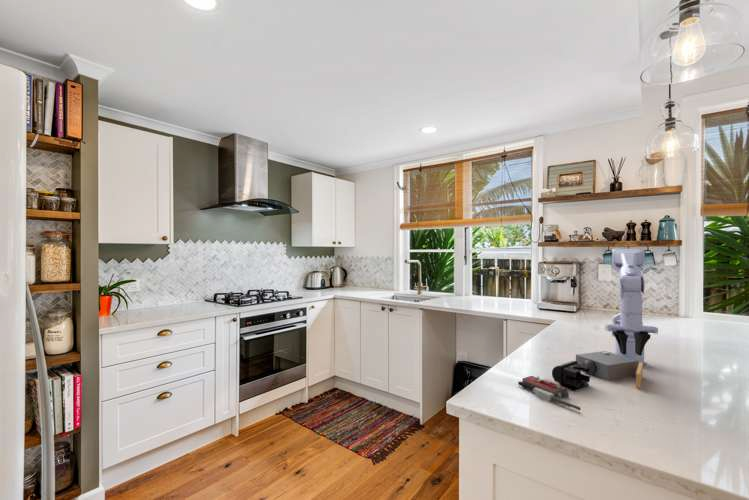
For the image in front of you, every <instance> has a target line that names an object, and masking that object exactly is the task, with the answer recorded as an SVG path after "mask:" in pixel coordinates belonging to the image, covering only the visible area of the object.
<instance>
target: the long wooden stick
mask: <svg viewBox="0 0 749 500" xmlns="http://www.w3.org/2000/svg"><path fill="white" fill-rule="evenodd" d="M643 366H644V364H643V363H640V362H639V365H638V368H637V372H636V376H635V388H637V389H641V385H642V381H643V375H644V373H643V371H644V367H643Z"/></svg>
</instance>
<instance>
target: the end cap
mask: <svg viewBox="0 0 749 500" xmlns="http://www.w3.org/2000/svg"><path fill="white" fill-rule="evenodd" d="M581 371H582V372H584V371H586V372H590V367H587V366H584V365H580V364H578V362H577V361H576V360H571V361H568V362H564V363H561V364H558V365H556V366H554V367H553V368H552V371H551V375H552V378H553V379H552V380H553V381H556V382H559V383H560V385H561V386H562V387H565V388H567V389H568V390H569V391H572V392H578V391H580V390H582V389H584V388H587V387H590V384H589V383H590V379H591V377H590V375H587V374H584V373H582V372H581ZM586 372H585V373H586Z"/></svg>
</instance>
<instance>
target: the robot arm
mask: <svg viewBox="0 0 749 500" xmlns="http://www.w3.org/2000/svg"><path fill="white" fill-rule="evenodd" d="M645 254H646V253H645V249H644V248H616V247H614V248H613V249H612V267H613V270H616V271H618V272H619V276H620V277H619V279H618V281H619V282H618V290H619V297H620V301H619V303H620V307H619V308H620V311H619V313H616V314H615V315H613V317H612V318H611V323H610V324H607V323H606V324H604V330H605V331H606V332H611V336H612V337H614V339H615V343H614V344H615V345H614V347H615V348H614V349H615V350H614V354H617V355H621V356H624V357H628V358H631V359H634V360H638V361H639V362H640V363H643V365H646V364H648V362H646V361H645V346H646V344H647V343H648V341H649V340H650V339H651V334H655V335H656V334H657V335H658V334H659V328H658V327H657V326H653V325H652V326H650V325H644V324H643V295H644V293H645V289H646V287H645V286H646V285H645V284H646V283H645V277H644V276H643V275H642V272H641V271H642V270H643V268H644V264H645V261H646V260H645V259H646V256H645Z"/></svg>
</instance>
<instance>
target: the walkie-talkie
mask: <svg viewBox="0 0 749 500" xmlns="http://www.w3.org/2000/svg"><path fill="white" fill-rule="evenodd" d="M517 382H518V383H517V385H518V386H521V387H522V389H524V390H527V391H530V392H532V393H534V395H535V396H536V397H538V398H539V399H542V400H544V401H546V402H549V403H551V402H554V403H558V404H561V405H563V406H565V407H568V408H574V409H576V410H579V411H581V407H580V406H578V405H575V404H573V403H570V402H568V401H565V400H562V399H567V398H568V397H569V395H570V393H569V391H568V389H567V388H565V387H562V386H561V385H560V383H559V382H556V381H555V380H554V379H550V378H544V379H542V378H540V376H533V375H530V376H526V377H523V378H522V381H517Z"/></svg>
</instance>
